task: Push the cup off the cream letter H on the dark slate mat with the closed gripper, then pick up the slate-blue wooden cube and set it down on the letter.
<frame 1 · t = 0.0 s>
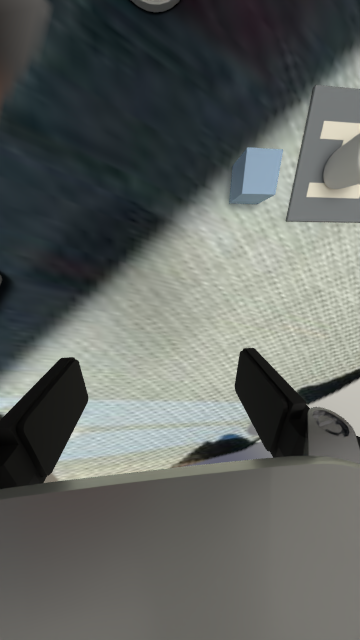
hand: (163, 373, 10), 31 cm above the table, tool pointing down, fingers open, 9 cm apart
letter mat: (340, 164, 33), on the table
cup: (340, 164, 33), resting on letter mat
cube: (245, 185, 33), on the table
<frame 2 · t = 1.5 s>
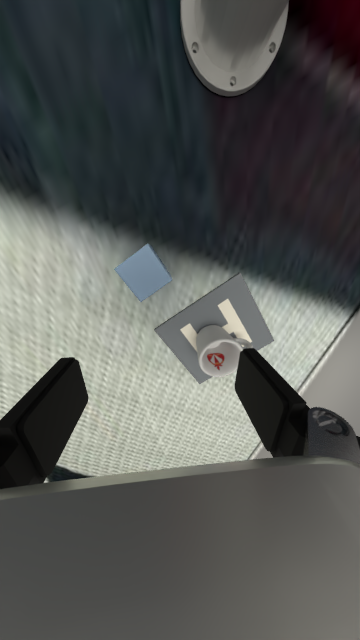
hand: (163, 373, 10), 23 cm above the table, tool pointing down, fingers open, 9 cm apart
letter mat: (216, 334, 36), on the table
cup: (216, 335, 36), resting on letter mat
cube: (147, 270, 30), on the table
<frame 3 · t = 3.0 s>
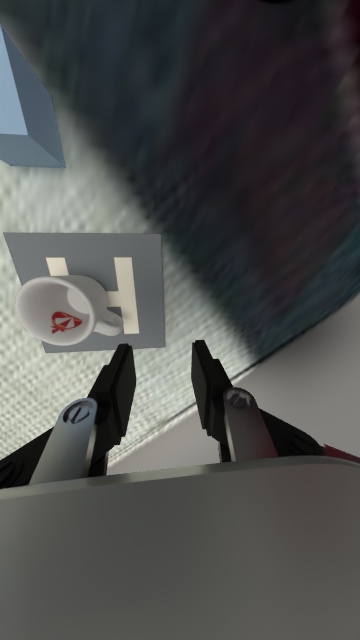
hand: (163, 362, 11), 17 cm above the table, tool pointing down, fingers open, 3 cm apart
letter mat: (98, 298, 26), on the table
cup: (97, 300, 26), resting on letter mat
cube: (30, 132, 18), on the table
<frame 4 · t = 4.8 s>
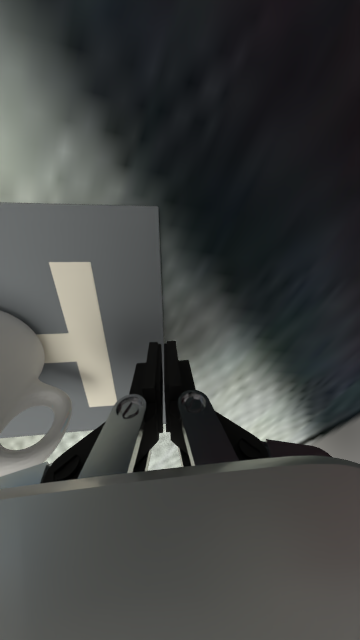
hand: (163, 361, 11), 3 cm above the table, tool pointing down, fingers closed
letter mat: (30, 346, 13), on the table
cup: (26, 351, 13), resting on letter mat
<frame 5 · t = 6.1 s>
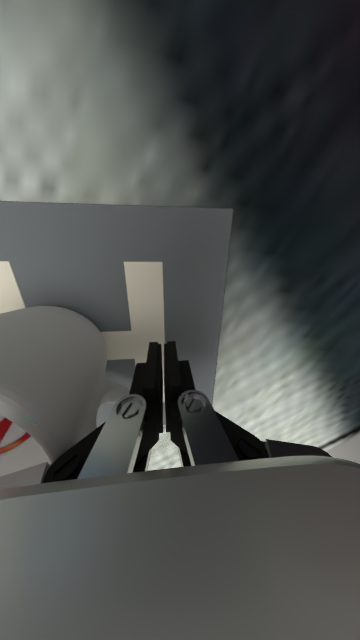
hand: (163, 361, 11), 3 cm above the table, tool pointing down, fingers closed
letter mat: (90, 343, 13), on the table
cup: (85, 350, 13), resting on letter mat
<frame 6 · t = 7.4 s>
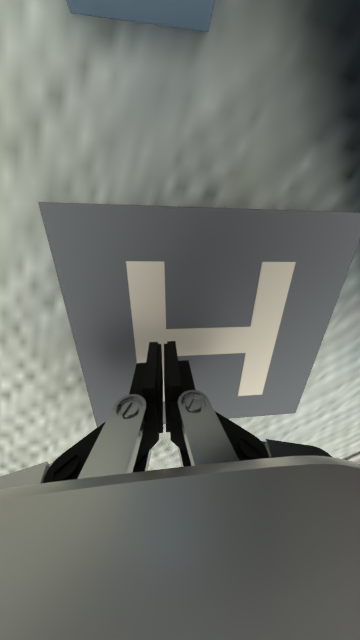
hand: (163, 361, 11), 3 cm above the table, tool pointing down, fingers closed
letter mat: (206, 338, 14), on the table
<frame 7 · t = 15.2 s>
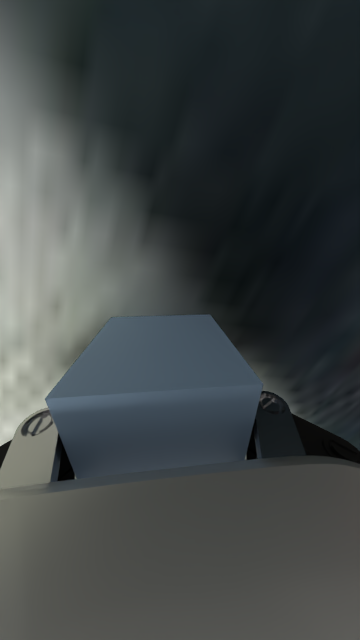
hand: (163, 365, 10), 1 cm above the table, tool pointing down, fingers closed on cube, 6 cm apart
cube: (163, 357, 11), on the table, touching gripper
when the fingers open (3 cm above the table, at t = 21.9 s): cube drops 1 cm, resting on letter mat.
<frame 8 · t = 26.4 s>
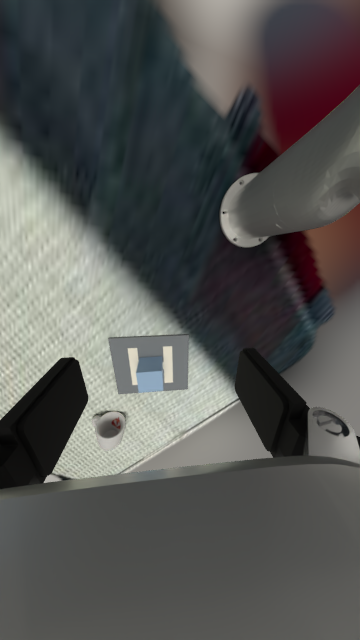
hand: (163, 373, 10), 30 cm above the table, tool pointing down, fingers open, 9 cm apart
letter mat: (151, 365, 46), on the table
cup: (106, 437, 51), point 3 cm above the table
cube: (151, 366, 45), point 1 cm above the table, touching letter mat
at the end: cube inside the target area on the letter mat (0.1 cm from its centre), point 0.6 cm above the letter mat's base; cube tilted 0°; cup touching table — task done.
